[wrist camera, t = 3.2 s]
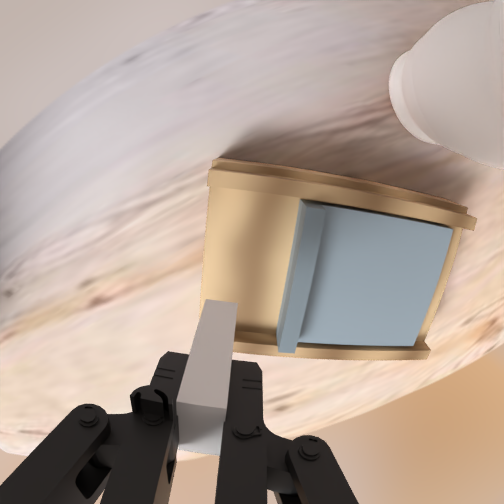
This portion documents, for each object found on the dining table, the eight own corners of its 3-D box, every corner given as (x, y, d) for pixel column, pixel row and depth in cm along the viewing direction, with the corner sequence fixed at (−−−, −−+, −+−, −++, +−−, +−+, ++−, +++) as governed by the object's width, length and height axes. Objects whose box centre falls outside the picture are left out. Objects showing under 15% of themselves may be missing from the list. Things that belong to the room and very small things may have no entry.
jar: (375, 25, 19) (481, -52, 5) (471, 59, 19) (591, 38, 5) (372, 145, 23) (503, 162, 9) (468, 165, 23) (597, 202, 9)
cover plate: (275, 331, 24) (278, 352, 22) (299, 198, 21) (306, 207, 18) (407, 338, 25) (420, 356, 22) (445, 225, 21) (464, 235, 19)
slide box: (203, 318, 28) (195, 352, 23) (218, 157, 23) (209, 161, 18) (404, 334, 29) (424, 363, 24) (445, 199, 24) (478, 212, 19)
